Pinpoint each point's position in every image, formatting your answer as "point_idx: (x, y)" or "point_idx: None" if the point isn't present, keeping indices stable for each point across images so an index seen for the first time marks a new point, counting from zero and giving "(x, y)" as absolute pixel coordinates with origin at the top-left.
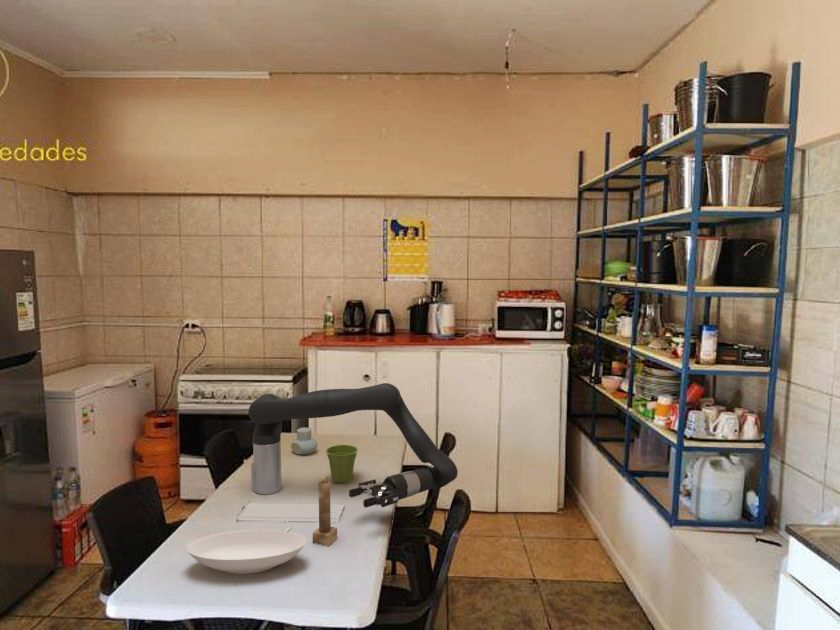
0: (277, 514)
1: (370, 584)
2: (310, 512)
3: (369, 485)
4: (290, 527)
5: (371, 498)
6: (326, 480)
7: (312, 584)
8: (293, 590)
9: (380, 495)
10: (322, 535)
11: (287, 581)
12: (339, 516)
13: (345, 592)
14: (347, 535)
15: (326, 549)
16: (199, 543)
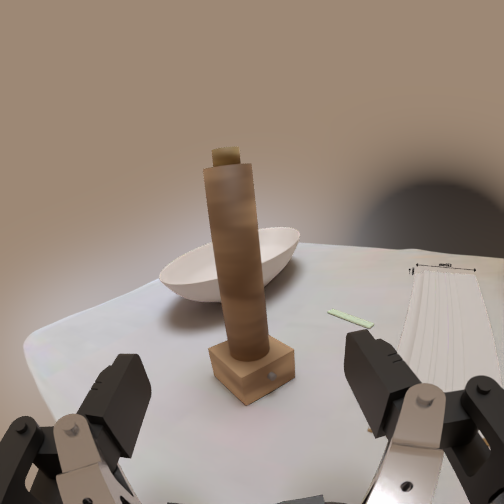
0: (433, 303)
1: (33, 367)
2: (446, 352)
3: (385, 463)
4: (369, 325)
5: (100, 387)
6: (212, 157)
7: (119, 323)
8: (133, 308)
9: (62, 453)
10: (227, 343)
11: (159, 307)
12: None
13: (60, 341)
14: (240, 436)
15: (202, 368)
16: (291, 233)
